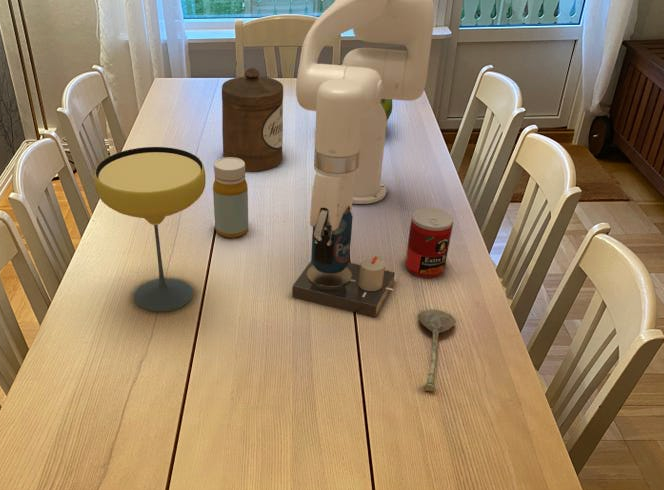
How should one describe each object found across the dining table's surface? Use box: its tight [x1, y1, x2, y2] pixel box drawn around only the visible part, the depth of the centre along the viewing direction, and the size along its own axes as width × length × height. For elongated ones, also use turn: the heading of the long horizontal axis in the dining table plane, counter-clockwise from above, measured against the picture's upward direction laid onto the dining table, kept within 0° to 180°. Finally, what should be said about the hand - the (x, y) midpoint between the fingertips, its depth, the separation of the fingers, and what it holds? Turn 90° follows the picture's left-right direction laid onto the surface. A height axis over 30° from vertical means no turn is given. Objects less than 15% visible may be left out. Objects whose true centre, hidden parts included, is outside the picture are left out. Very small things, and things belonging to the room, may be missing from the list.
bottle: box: [212, 157, 249, 239], centre depth 147 cm, size 7×7×15 cm
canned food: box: [405, 207, 454, 278], centre depth 137 cm, size 8×8×11 cm
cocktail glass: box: [93, 146, 207, 313], centre depth 125 cm, size 18×18×25 cm
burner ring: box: [307, 265, 352, 288], centre depth 134 cm, size 8×8×1 cm
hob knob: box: [358, 255, 386, 291], centre depth 130 cm, size 4×4×5 cm
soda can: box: [310, 206, 354, 274], centre depth 129 cm, size 7×7×12 cm
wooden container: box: [221, 67, 284, 172], centre depth 173 cm, size 15×15×22 cm
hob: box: [291, 260, 396, 318], centre depth 133 cm, size 17×12×3 cm
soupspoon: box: [417, 309, 457, 392], centre depth 120 cm, size 22×3×7 cm
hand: (330, 251), depth 131 cm, fingers closed on soda can, 7 cm apart
